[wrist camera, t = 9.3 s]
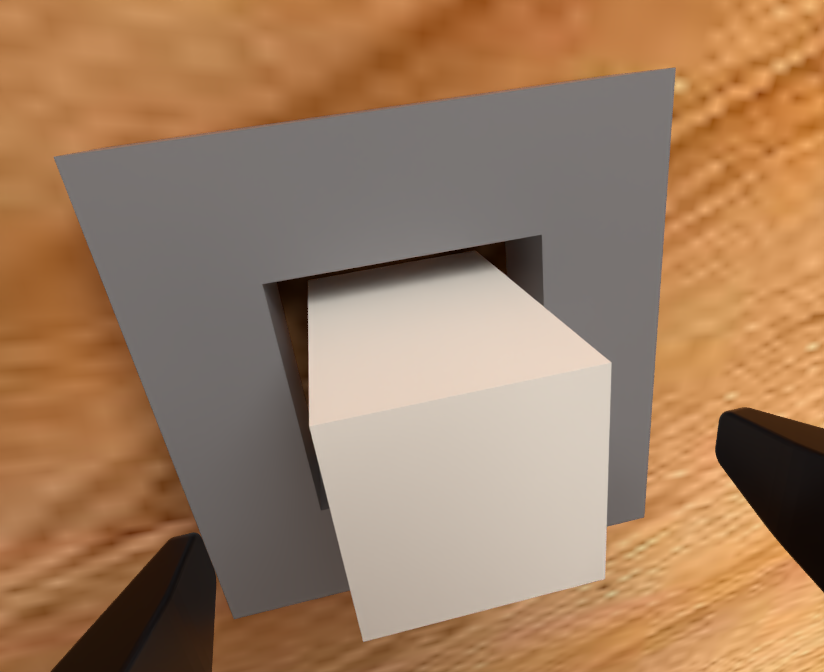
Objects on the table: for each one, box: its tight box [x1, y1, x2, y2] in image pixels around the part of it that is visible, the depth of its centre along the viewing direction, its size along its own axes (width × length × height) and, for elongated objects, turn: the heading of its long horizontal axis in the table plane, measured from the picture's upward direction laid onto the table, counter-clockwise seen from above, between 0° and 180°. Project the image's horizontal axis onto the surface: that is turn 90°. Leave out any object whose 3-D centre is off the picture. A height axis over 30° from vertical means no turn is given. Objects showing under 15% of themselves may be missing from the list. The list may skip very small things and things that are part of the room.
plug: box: [308, 250, 612, 642], centre depth 12 cm, size 4×4×7 cm
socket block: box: [54, 68, 676, 619], centre depth 14 cm, size 12×12×2 cm
